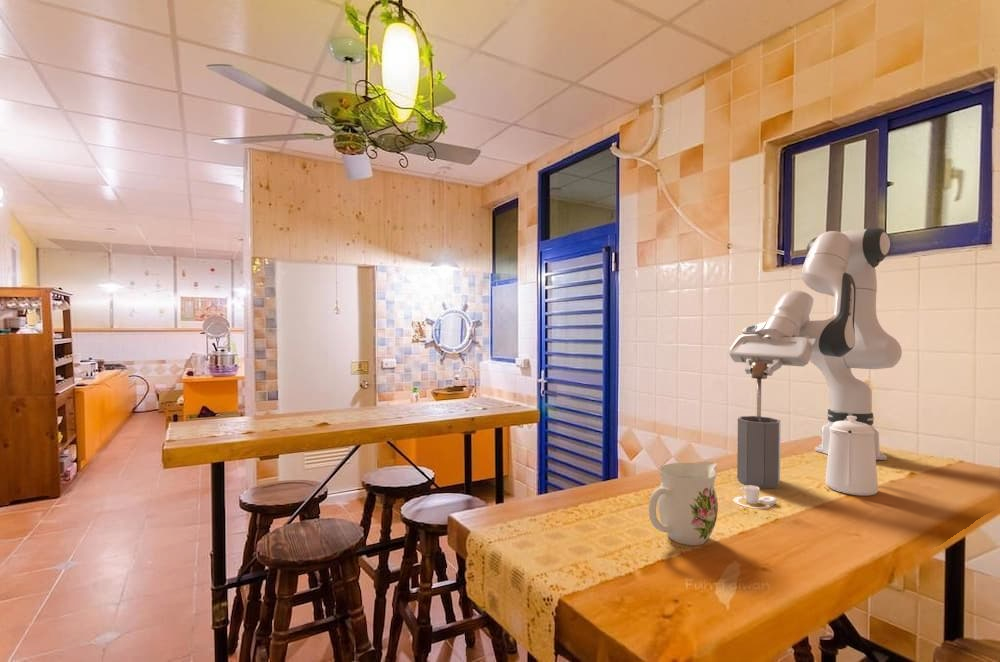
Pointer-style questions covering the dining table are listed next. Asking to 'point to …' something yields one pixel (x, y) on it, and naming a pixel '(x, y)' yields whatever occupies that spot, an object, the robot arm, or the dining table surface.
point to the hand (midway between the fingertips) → (757, 373)
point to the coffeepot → (852, 458)
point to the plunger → (758, 383)
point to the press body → (758, 452)
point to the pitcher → (686, 502)
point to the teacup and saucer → (754, 497)
